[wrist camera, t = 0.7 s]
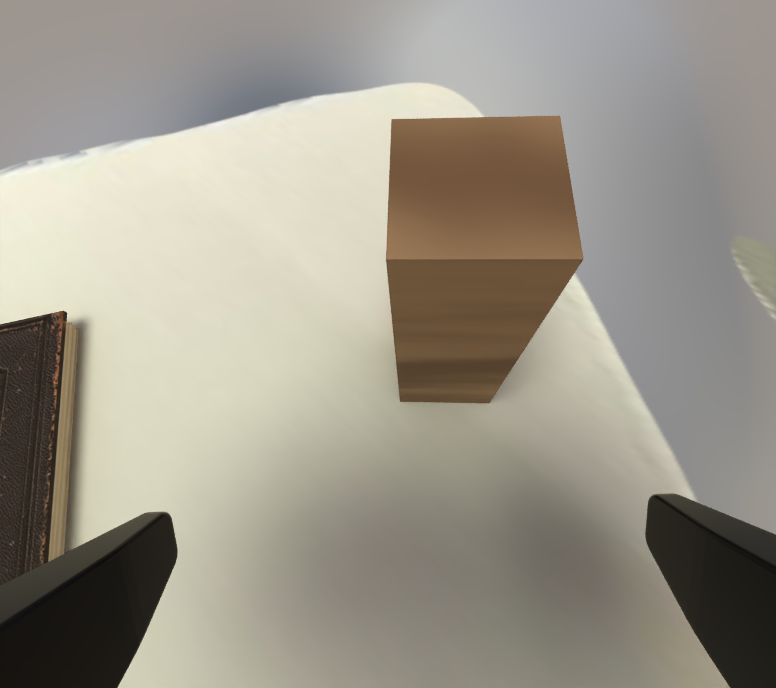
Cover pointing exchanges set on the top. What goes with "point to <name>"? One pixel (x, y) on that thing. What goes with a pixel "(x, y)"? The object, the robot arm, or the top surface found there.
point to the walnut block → (474, 248)
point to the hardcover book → (35, 439)
